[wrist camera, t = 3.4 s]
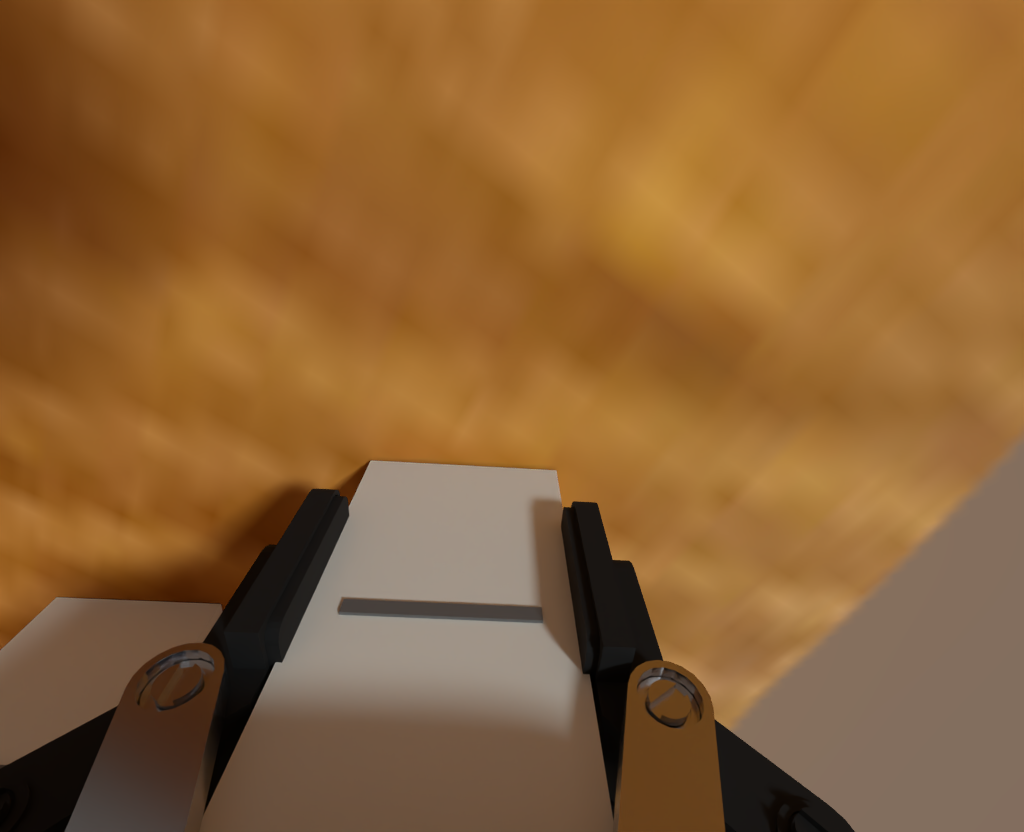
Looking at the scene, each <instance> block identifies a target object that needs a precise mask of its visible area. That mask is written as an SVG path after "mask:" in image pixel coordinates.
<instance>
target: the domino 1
mask: <svg viewBox="0 0 1024 832" xmlns="http://www.w3.org/2000/svg"><path fill="white" fill-rule="evenodd" d="M222 612H223V611H222V607H221V604H209V603H185V602H160V601H136V600H111V599H87V598H62V597H56V598H55V599H54V600H53V601H52V602H51V603H50V604H49V605H48V606H47V607H46V608H45V609H44V610H43V611H41V612H40V613H39V614H38V615H37V616H36V617H35V618H34V619H33V620H32V621H31V622H30V623H29V624H28V625H27V626H26V627H24V628H23V629H22V630H21V631H20V632H19V633H18V634H17V635H16V636H15V637H14V638H13V639H12V640H11V641H10V642H9V643H8V644H6V645H5V646H4V647H3V648H2V649H1V650H0V768H2V767H4V766H6V765H8V764H10V763H12V762H14V761H15V760H17V759H19V758H21V757H23V756H25V755H27V754H28V753H30V752H32V751H34V750H36V749H38V748H40V747H42V746H43V745H45V744H47V743H49V742H51V741H53V740H55V739H56V738H58V737H60V736H62V735H64V734H66V733H68V732H70V731H71V730H73V729H75V728H77V727H79V726H81V725H83V724H84V723H86V722H88V721H90V720H92V719H94V718H96V717H98V716H99V715H101V714H103V713H105V712H107V711H109V710H111V709H112V708H114V707H116V706H118V704H119V702H120V700H121V697H122V695H123V693H124V690H125V688H126V686H127V685H128V683H129V681H130V680H131V678H132V676H133V675H134V674H135V673H136V672H137V671H138V670H139V669H140V668H141V667H142V666H143V665H144V664H145V663H147V662H148V661H149V660H151V659H152V658H154V657H155V656H156V655H158V654H160V653H162V652H164V651H166V650H168V649H170V648H173V647H176V646H180V645H183V644H187V643H203V641H204V640H205V638H206V637H207V635H208V634H209V632H210V630H211V629H212V627H213V626H214V624H215V623H216V621H217V620H218V618H219V617H220V615H221V613H222Z"/></svg>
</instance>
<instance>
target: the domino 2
mask: <svg viewBox="0 0 1024 832" xmlns="http://www.w3.org/2000/svg"><path fill="white" fill-rule="evenodd" d="M562 514H563V508H562V502H561V496H560V490H559V484H558V477H557V471H556V470H539V469H521V468H502V467H483V466H464V465H446V464H427V463H408V462H389V461H370V463H369V465H368V467H367V469H366V471H365V474H364V476H363V478H362V480H361V482H360V484H359V486H358V488H357V491H356V493H355V495H354V497H353V499H352V501H351V503H350V505H349V518H348V520H347V522H346V524H345V526H344V529H343V531H342V533H341V535H340V537H339V540H338V542H337V544H336V546H335V548H334V550H333V553H332V555H331V557H330V559H329V561H328V564H327V566H326V568H325V570H324V572H323V574H322V577H321V579H320V581H319V583H318V585H317V588H316V590H315V592H314V594H313V596H312V599H311V601H310V603H309V605H308V607H307V609H306V612H305V614H304V616H303V618H302V620H301V623H300V625H299V627H298V629H297V631H296V634H295V636H294V638H293V640H292V642H291V644H290V647H289V649H288V651H287V653H286V655H285V658H284V660H283V662H282V663H280V662H275V664H274V667H273V669H272V671H271V673H270V675H269V677H268V679H267V681H266V684H265V686H264V688H263V690H262V692H261V694H260V696H259V698H258V701H257V703H256V705H255V707H254V709H253V711H252V713H251V715H250V717H249V720H248V722H247V724H246V726H245V728H244V730H243V732H242V734H241V737H240V739H239V741H238V743H237V745H236V747H235V749H234V751H233V754H232V756H231V758H230V760H229V762H228V764H227V766H226V768H225V771H224V773H223V775H222V777H221V779H220V781H219V783H218V785H217V787H216V790H215V792H214V794H213V796H212V798H211V800H210V802H209V804H208V807H207V809H206V811H205V813H204V815H203V818H202V822H201V827H200V831H199V832H613V823H614V821H613V815H612V809H611V803H610V797H609V790H608V784H607V778H606V772H605V766H604V760H603V754H602V748H601V741H600V735H599V729H598V723H597V717H596V711H595V705H594V698H593V692H592V686H591V680H590V674H583V672H582V665H581V658H580V651H579V645H578V638H577V631H576V625H575V618H574V611H573V604H572V598H571V591H570V584H569V578H568V571H567V564H566V557H565V551H564V544H563V537H562V531H561V521H562Z"/></svg>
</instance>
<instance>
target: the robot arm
mask: <svg viewBox="0 0 1024 832" xmlns="http://www.w3.org/2000/svg"><path fill="white" fill-rule="evenodd" d="M348 518H349V506H348V499H347V497H345V496H340V493H339V491H338V490H330V489H312V490H311V491H310V492H309V494H308V496H307V497H306V499H305V500H304V502H303V504H302V505H301V507H300V509H299V510H298V512H297V513H296V515H295V517H294V518H293V520H292V522H291V523H290V525H289V526H288V528H287V530H286V531H285V533H284V535H283V536H282V538H281V539H280V541H279V543H278V544H277V545H268V546H266V547H265V548H264V549H263V550H262V552H261V553H260V555H259V556H258V558H257V559H256V561H255V562H254V564H253V565H252V567H251V569H250V570H249V572H248V573H247V575H246V576H245V578H244V579H243V581H242V582H241V584H240V586H239V587H238V589H237V590H236V592H235V593H234V595H233V596H232V598H231V600H230V601H229V603H228V604H227V606H226V607H225V609H224V610H223V612H222V613H221V615H220V617H219V618H218V620H217V621H216V623H215V624H214V626H213V627H212V629H211V630H210V632H209V634H208V635H207V637H206V638H205V640H204V641H203V643H187V644H183V645H180V646H176V647H173V648H170V649H168V650H166V651H164V652H162V653H160V654H158V655H156V656H155V657H154V658H152V659H151V660H149V661H148V662H147V663H145V664H144V665H143V666H142V667H141V668H140V669H139V670H138V671H137V672H136V673H135V674H134V675H133V676H132V678H131V680H130V681H129V683H128V685H127V686H126V688H125V690H124V693H123V695H122V697H121V700H120V702H119V704H118V706H116V707H114V708H112V709H111V710H109V711H107V712H105V713H103V714H101V715H99V716H98V717H96V718H94V719H92V720H90V721H88V722H86V723H84V724H83V725H81V726H79V727H77V728H75V729H73V730H71V731H70V732H68V733H66V734H64V735H62V736H60V737H58V738H56V739H55V740H53V741H51V742H49V743H47V744H45V745H43V746H42V747H40V748H38V749H36V750H34V751H32V752H30V753H28V754H27V755H25V756H23V757H21V758H19V759H17V760H15V761H14V762H12V763H10V764H8V765H6V766H4V767H2V768H0V832H199V831H200V827H201V822H202V818H203V815H204V813H205V811H206V809H207V807H208V804H209V802H210V800H211V798H212V796H213V794H214V792H215V790H216V787H217V785H218V783H219V781H220V779H221V777H222V775H223V773H224V771H225V768H226V766H227V764H228V762H229V760H230V758H231V756H232V754H233V751H234V749H235V747H236V745H237V743H238V741H239V739H240V737H241V734H242V732H243V730H244V728H245V726H246V724H247V722H248V720H249V717H250V715H251V713H252V711H253V709H254V707H255V705H256V703H257V701H258V698H259V696H260V694H261V692H262V690H263V688H264V686H265V684H266V681H267V679H268V677H269V675H270V673H271V671H272V669H273V667H274V664H275V662H280V663H282V662H283V660H284V658H285V655H286V653H287V651H288V649H289V647H290V644H291V642H292V640H293V638H294V636H295V634H296V631H297V629H298V627H299V625H300V623H301V620H302V618H303V616H304V614H305V612H306V609H307V607H308V605H309V603H310V601H311V599H312V596H313V594H314V592H315V590H316V588H317V585H318V583H319V581H320V579H321V577H322V574H323V572H324V570H325V568H326V566H327V564H328V561H329V559H330V557H331V555H332V553H333V550H334V548H335V546H336V544H337V542H338V540H339V537H340V535H341V533H342V531H343V529H344V526H345V524H346V522H347V520H348ZM561 531H562V537H563V544H564V551H565V557H566V564H567V571H568V578H569V584H570V591H571V598H572V604H573V611H574V618H575V625H576V631H577V638H578V645H579V651H580V658H581V665H582V672H583V674H590V680H591V686H592V692H593V698H594V705H595V711H596V717H597V723H598V729H599V735H600V741H601V748H602V754H603V760H604V766H605V772H606V778H607V784H608V790H609V797H610V803H611V809H612V815H613V821H614V823H613V832H854V830H853V829H852V828H851V826H850V825H849V824H848V823H847V821H846V820H845V819H844V818H843V817H842V816H840V815H839V814H838V813H837V812H836V811H835V810H834V809H833V808H832V807H830V806H829V805H828V804H827V803H825V802H824V801H823V800H821V799H820V798H819V797H817V796H816V795H815V794H813V793H812V792H811V791H809V790H808V789H806V788H805V787H804V786H802V785H801V784H800V783H799V782H797V781H796V780H794V779H793V778H792V777H791V776H789V775H788V774H787V773H785V772H784V771H782V770H781V769H780V768H779V767H777V766H776V765H775V764H773V763H772V762H771V761H769V760H768V759H767V758H765V757H764V756H763V755H761V754H760V753H759V752H757V751H756V750H755V749H753V748H752V747H751V746H749V745H748V744H747V743H745V742H744V741H743V740H741V739H740V738H739V737H737V736H736V735H735V734H733V733H732V732H731V731H729V730H728V729H727V728H725V727H724V726H723V725H721V724H720V723H719V722H717V721H716V720H715V719H714V710H713V705H712V701H711V698H710V695H709V694H708V692H707V690H706V688H705V687H704V685H703V684H702V683H701V682H700V681H699V680H698V679H697V678H696V677H695V675H694V674H692V673H691V672H689V671H688V670H686V669H685V668H683V667H682V666H679V665H677V664H674V663H672V662H668V661H663V658H662V655H661V652H660V649H659V646H658V643H657V639H656V636H655V633H654V630H653V627H652V624H651V620H650V617H649V614H648V611H647V608H646V605H645V602H644V598H643V595H642V592H641V589H640V586H639V583H638V580H637V576H636V573H635V570H634V567H633V565H632V563H631V562H630V561H621V560H612V556H611V552H610V549H609V545H608V541H607V538H606V534H605V530H604V526H603V523H602V519H601V515H600V512H599V508H598V505H597V503H593V502H573V503H572V506H571V508H569V507H564V509H563V514H562V521H561Z"/></svg>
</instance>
